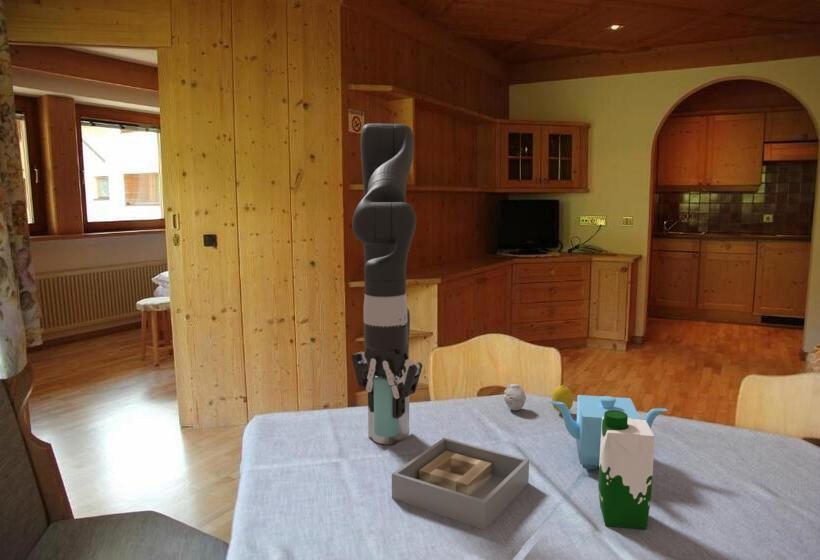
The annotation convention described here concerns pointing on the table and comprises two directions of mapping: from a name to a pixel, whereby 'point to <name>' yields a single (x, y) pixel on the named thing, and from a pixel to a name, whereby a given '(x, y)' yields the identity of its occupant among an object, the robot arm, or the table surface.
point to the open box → (471, 510)
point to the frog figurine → (514, 397)
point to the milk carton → (625, 470)
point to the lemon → (562, 397)
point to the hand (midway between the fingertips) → (386, 413)
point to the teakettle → (596, 423)
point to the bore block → (449, 461)
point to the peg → (384, 409)
